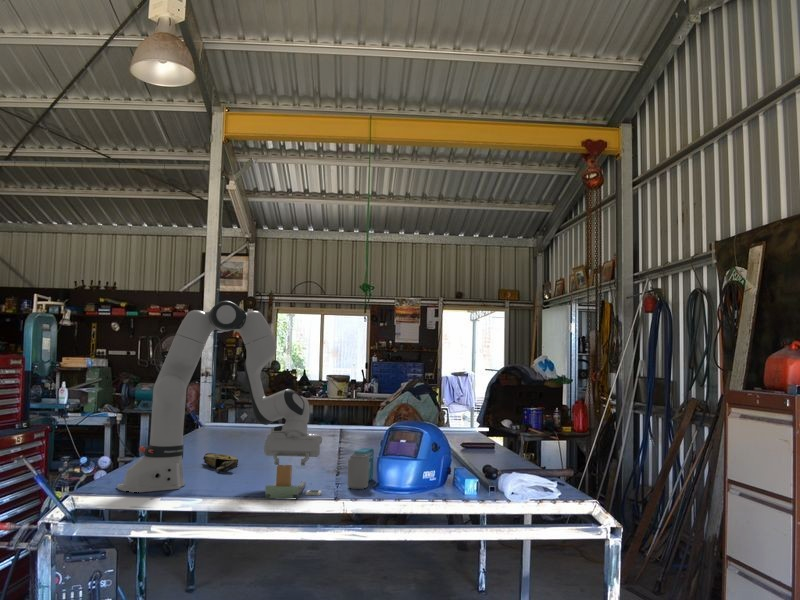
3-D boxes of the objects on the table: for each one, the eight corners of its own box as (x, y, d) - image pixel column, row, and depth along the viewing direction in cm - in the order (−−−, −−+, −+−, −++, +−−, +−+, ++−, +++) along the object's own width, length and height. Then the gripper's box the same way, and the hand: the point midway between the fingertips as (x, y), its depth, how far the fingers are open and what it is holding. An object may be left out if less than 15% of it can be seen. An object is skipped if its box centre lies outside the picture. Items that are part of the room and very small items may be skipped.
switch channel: (276, 485, 242) (277, 473, 243) (323, 486, 243) (324, 475, 243) (265, 498, 218) (265, 486, 218) (317, 499, 219) (318, 487, 219)
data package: (364, 484, 250) (365, 451, 251) (352, 483, 251) (353, 451, 252) (372, 479, 261) (373, 448, 263) (361, 478, 263) (363, 447, 264)
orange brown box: (277, 494, 225) (278, 464, 226) (290, 495, 225) (292, 464, 226) (275, 497, 221) (276, 466, 222) (289, 497, 221) (290, 466, 222)
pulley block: (209, 457, 261) (203, 448, 289) (206, 472, 260) (200, 461, 288) (245, 462, 266) (236, 452, 294) (242, 477, 265) (233, 466, 293)
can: (370, 487, 244) (371, 454, 245) (364, 490, 237) (365, 456, 238) (351, 485, 246) (352, 452, 247) (344, 489, 239) (345, 455, 240)
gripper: (322, 440, 250) (319, 470, 239) (268, 438, 250) (262, 468, 239) (322, 429, 246) (318, 459, 235) (267, 427, 246) (260, 457, 235)
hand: (289, 464), depth 237 cm, fingers open, 8 cm apart
